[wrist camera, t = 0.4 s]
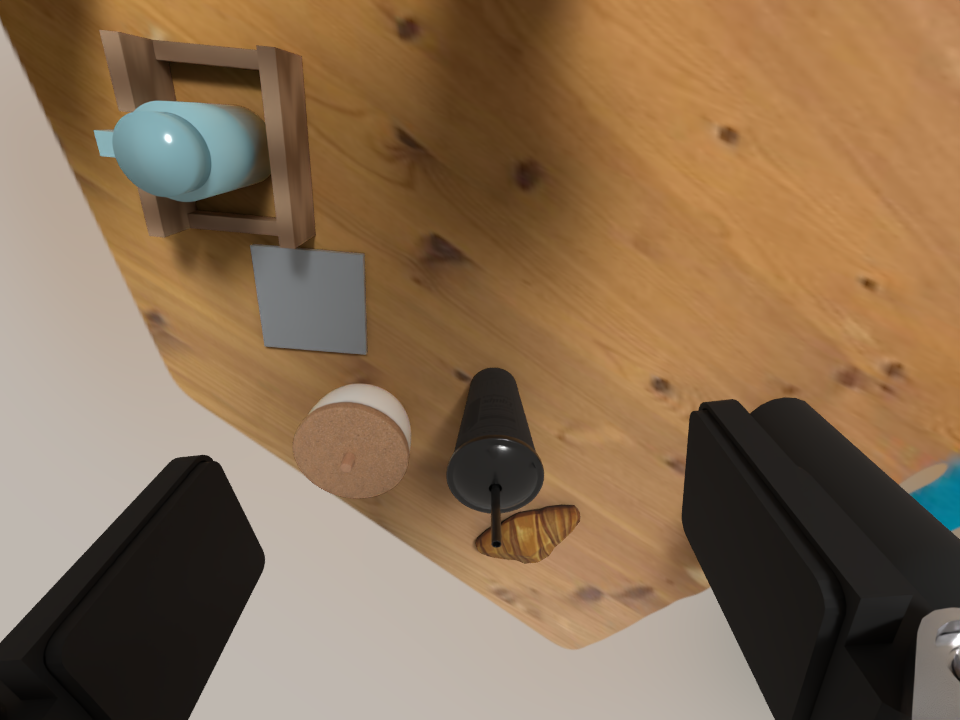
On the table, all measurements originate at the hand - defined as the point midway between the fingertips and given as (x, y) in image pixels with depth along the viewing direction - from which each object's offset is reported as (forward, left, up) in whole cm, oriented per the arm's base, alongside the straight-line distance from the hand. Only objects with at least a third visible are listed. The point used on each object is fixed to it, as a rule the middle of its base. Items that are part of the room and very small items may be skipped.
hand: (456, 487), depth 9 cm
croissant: (+37, +9, -35) cm, 52 cm away
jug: (-3, -22, -34) cm, 41 cm away
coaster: (+10, -15, -34) cm, 39 cm away
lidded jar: (+22, -10, -35) cm, 42 cm away
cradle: (-3, -20, -34) cm, 40 cm away
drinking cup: (+18, +3, -35) cm, 39 cm away
